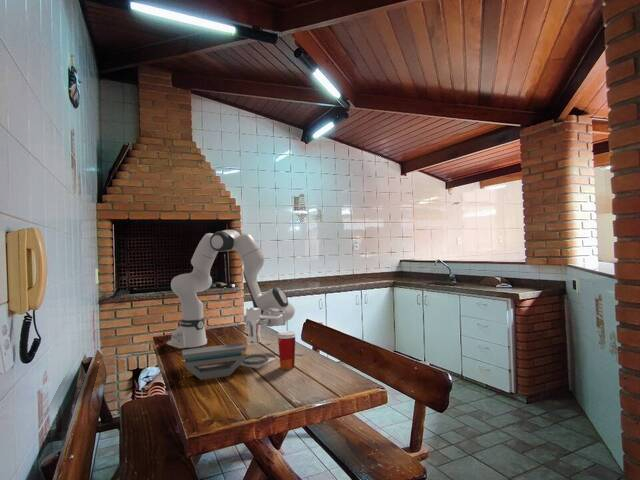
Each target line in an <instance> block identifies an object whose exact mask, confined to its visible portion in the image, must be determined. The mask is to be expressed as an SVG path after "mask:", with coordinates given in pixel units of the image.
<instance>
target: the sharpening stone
mask: <svg viewBox="0 0 640 480" xmlns="http://www.w3.org/2000/svg"><path fill="white" fill-rule="evenodd" d="M246 349H247V346H246V345H245V344H244V343H242V342H238V343H237V342H236V343H230V344H228V343H227V344H222V345H213V346H204V347H193V348H188V349H186V348H185V349H181V357H182V359H183V360H184V364H185V365H184V366H185V370H187V371H188V372H190V373H191V374H192V375H194V377H196V378H197V379H199V380H200V381H203V379H204V380H210V379H216V378H222V377H230V376H231V375H232V374H233V373H234V372H235V370H237V368H238V367H240V366H241V365H240V364H241V363H242V362H243V357H244V355H243V353H242V352H246V351H247V350H246ZM219 363H220V364H219ZM204 365H206V366H204Z"/></svg>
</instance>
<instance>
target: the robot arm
mask: <svg viewBox="0 0 640 480" xmlns="http://www.w3.org/2000/svg"><path fill="white" fill-rule="evenodd" d="M233 250H234V251H236V252H237V253H238V256H239V258H240V259H241V261H242V264H243V272H242V273H243V279H244V281H245V284H246V287H247V289H248V293H249V294H250V297H251V300H252V306H253V307H252V308H261V321H259V322H258V325H261V326H263V325H264V326H267V327H269V328H270V327H271V328H272V327H278V326H282V327H283V326H286V322H288V321H290V320H291V319H292V318H294V316H295V312H296V311H295V310H296V309H295V307H294V305H292V303H290V302H289V301H288V296H287V294H286V292H285V291H284V290H283V289H282V288H280V287H277V286H275V287H273V288H271V289H269V290H268V291H266V292H264V293H262V292H261V288H260V286H259V283H258V280H257V278H258V277H257V276H258V274H259V272H260V270H261V269H262V268H263V266H264V263H265V255H264V253H263V251H262V249H261V248H260V246H259V244H258V242H257V241H256V239H254V237H253V236H252V235H251V234H250V233H242V232H241V231H240V230H238V229H224V230H218V231H216V232H214V233H211V232H209V233H205V234H204V236H203V237H202V238H201V240H199V243H198V245H197V246H196V248H195V251H194V253H193V255H192V257H191V259H190V264H191V266H192V267H193V269H192V271H191V272H188V273H182V274H178V275H176V276H174V277H173V278H172V279H171V282H170V288H171V290H172V292H173V293H174V294H175V295H176V296H177V297H178V299H179V301H180V304H181V317H182V319H179V320H178V322H179V326H178V327H177V328H176V329H174V331H173V332H172V334H171V340H169V341H167V342H166V345H168V346H170V347H171V346H172V348H173V347H174V348H177V349H186V348H188V349H190V348H199V347H202V346H205V345H207V344H208V338H207V334H206V326H205V317H204V303H203V302H202V301H201V300H200V299H199V298H198V296H197V295H198V294H197V293H200V292H204V291H207V290H208V289H210V288H211V287H212V284H213V279H212V276H211V269H212V266H213V264H214V261H215V259H216V258H217V255H218V253H220V252H221V253H222V252H229V251H233ZM243 322H244V324H246V325H247V323H246V314H245V315H244V316H243Z"/></svg>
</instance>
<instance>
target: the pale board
mask: <svg viewBox="0 0 640 480" xmlns="http://www.w3.org/2000/svg"><path fill="white" fill-rule="evenodd" d="M264 359H265V358H262V357H253V358H248V359H245V361H260V360H264ZM277 359H278V358H277V357H271V356H269V360H268V361H267V362H265V363H263V364H257V365H247V364H243V363H241V364H240V365H239V366H242V367H246V368H252V369H260V368H261V367H264V366H266V365H268V364H270V363H272V362H274V361H276V360H277Z"/></svg>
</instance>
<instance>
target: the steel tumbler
mask: <svg viewBox="0 0 640 480" xmlns="http://www.w3.org/2000/svg"><path fill="white" fill-rule="evenodd" d="M245 310H246V312H245V315H246V323H247V324H246V327H247V332H248V333H247V334H248V335H247V342H248V343H249V344H256V343H260V342H262V338H261V327H262V325H258V322H259V321H261V308H254V307H248V308H246V309H245Z"/></svg>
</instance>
